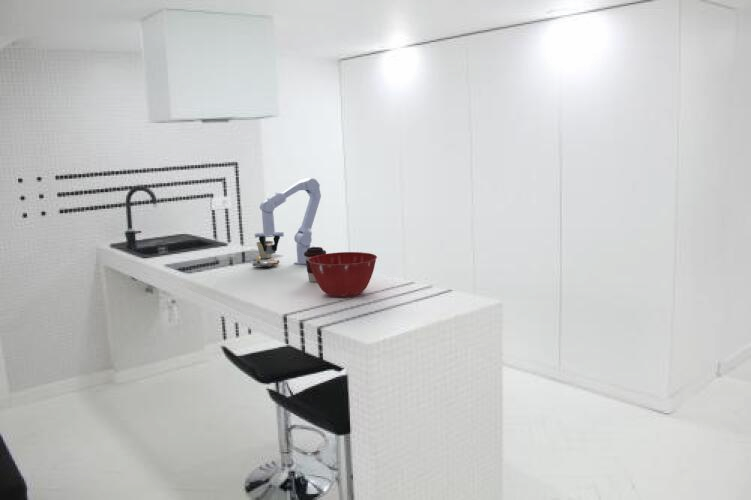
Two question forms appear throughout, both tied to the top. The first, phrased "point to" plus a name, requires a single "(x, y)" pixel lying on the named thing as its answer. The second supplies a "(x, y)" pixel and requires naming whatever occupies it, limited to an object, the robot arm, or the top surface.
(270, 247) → the cube with orange inset
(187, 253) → the top surface
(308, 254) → the coffee cup
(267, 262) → the sprocket
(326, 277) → the mixing bowl
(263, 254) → the flower pot
